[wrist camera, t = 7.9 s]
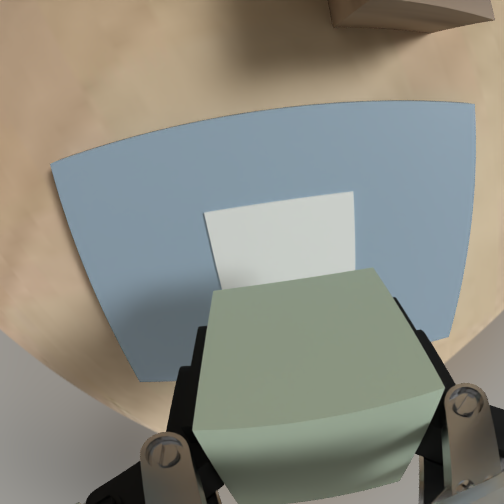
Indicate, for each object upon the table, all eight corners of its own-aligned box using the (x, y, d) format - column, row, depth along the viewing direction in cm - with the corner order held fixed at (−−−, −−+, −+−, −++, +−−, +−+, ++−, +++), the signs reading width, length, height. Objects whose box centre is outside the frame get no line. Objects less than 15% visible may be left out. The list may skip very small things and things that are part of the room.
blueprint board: (60, 159, 13) (48, 164, 12) (462, 102, 12) (475, 104, 11) (143, 370, 20) (139, 383, 19) (442, 327, 18) (449, 337, 17)
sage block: (213, 290, 10) (191, 430, 5) (372, 267, 10) (445, 387, 5) (241, 393, 12) (240, 506, 8) (365, 374, 12) (399, 481, 7)
